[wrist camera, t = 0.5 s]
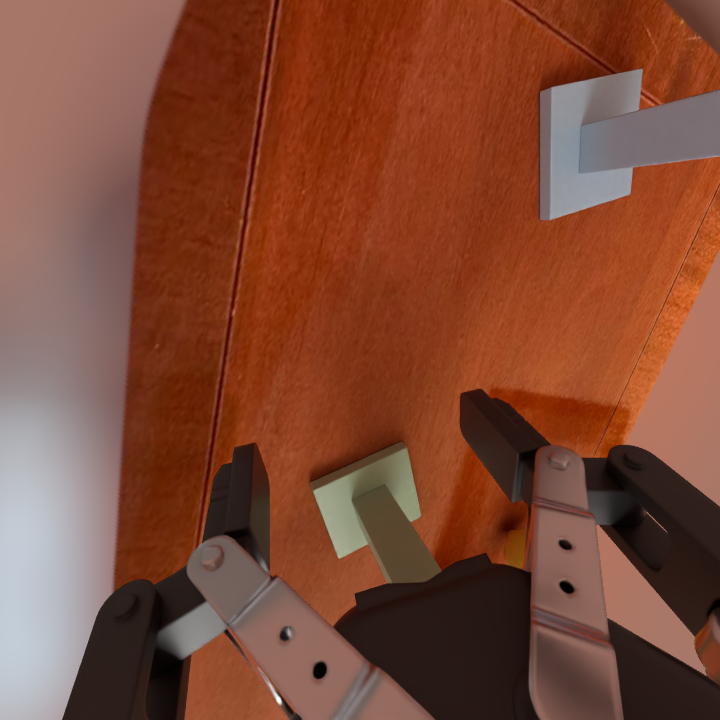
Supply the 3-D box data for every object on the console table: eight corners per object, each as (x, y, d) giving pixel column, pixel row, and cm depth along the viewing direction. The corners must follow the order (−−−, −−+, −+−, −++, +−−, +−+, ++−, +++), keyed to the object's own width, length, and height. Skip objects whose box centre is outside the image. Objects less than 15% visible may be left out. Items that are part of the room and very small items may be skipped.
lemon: (537, 514, 40) (605, 575, 33) (512, 553, 41) (573, 621, 34) (505, 508, 38) (571, 573, 31) (479, 550, 39) (538, 623, 32)
